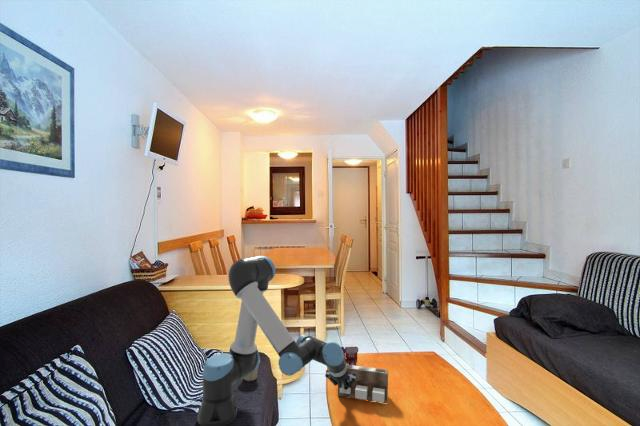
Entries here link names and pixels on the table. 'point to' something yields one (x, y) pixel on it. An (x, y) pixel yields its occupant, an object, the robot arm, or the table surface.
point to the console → (367, 380)
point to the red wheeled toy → (350, 355)
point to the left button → (347, 390)
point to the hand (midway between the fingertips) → (345, 389)
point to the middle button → (361, 392)
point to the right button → (378, 395)
